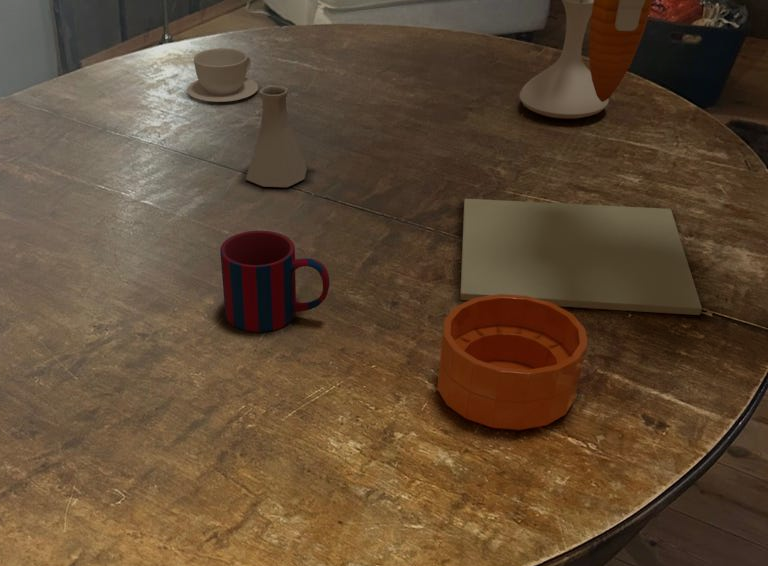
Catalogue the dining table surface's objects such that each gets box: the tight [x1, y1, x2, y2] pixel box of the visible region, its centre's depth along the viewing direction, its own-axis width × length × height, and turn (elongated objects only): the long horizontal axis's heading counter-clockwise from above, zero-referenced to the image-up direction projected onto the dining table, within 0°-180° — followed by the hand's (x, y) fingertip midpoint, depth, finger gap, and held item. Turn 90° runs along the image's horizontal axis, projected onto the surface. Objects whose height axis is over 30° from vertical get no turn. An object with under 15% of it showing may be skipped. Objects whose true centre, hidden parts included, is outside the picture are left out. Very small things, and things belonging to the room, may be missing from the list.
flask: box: [245, 84, 308, 188], centre depth 106 cm, size 7×7×10 cm
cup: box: [219, 230, 330, 333], centre depth 85 cm, size 7×10×7 cm
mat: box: [459, 198, 703, 316], centre depth 94 cm, size 22×20×1 cm
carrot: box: [588, 0, 654, 102], centre depth 78 cm, size 5×5×15 cm
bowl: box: [436, 294, 588, 431], centre depth 76 cm, size 11×11×6 cm
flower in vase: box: [518, 0, 610, 120], centre depth 113 cm, size 13×11×25 cm
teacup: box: [186, 47, 259, 103], centre depth 128 cm, size 10×10×5 cm
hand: (620, 16), depth 79 cm, fingers closed on carrot, 5 cm apart
